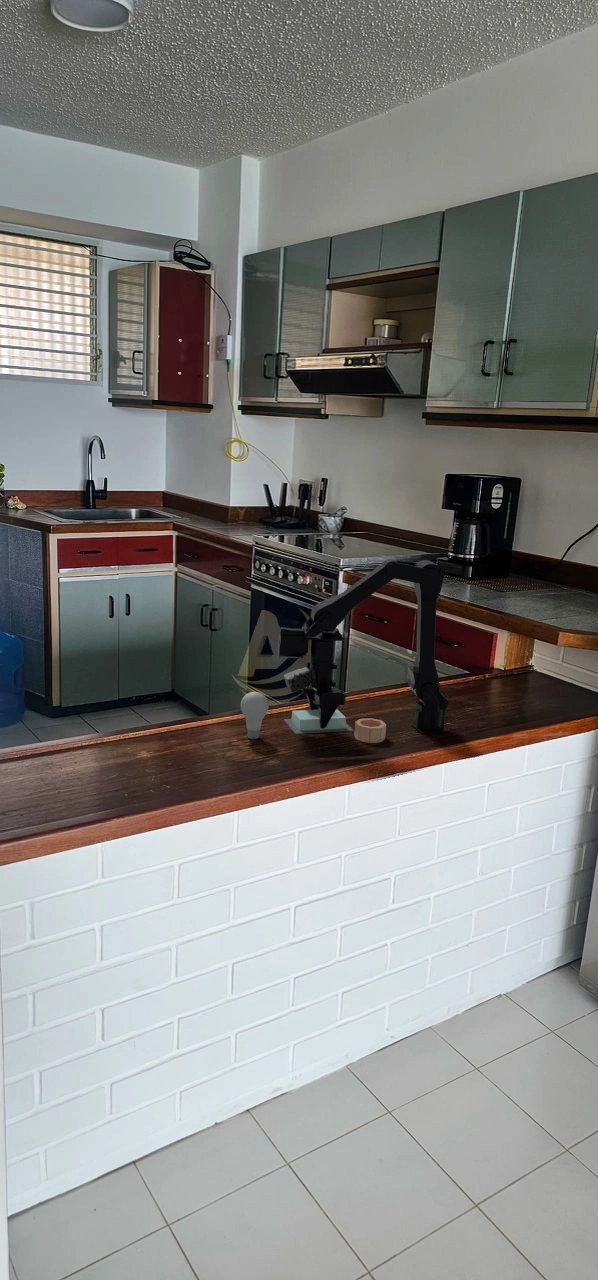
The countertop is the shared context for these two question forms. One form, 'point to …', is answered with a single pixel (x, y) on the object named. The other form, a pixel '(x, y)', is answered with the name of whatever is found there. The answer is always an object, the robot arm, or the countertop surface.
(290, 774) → the countertop surface
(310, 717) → the pale teal block
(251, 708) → the lightbulb
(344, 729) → the mat
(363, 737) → the nut
